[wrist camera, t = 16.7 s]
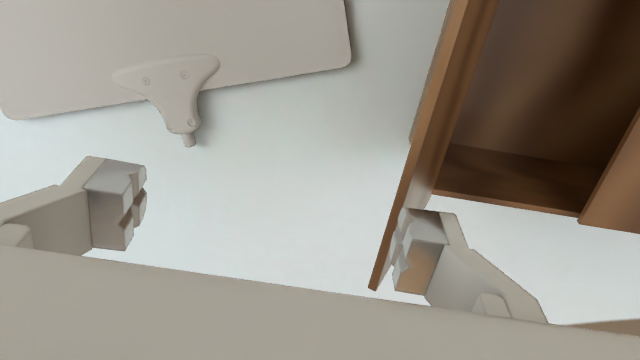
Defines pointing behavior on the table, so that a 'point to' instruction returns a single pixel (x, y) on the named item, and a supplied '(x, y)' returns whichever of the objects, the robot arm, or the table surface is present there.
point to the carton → (551, 113)
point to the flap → (438, 115)
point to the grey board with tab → (158, 51)
